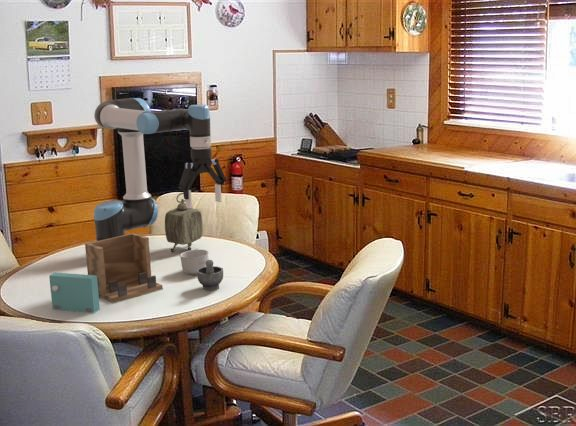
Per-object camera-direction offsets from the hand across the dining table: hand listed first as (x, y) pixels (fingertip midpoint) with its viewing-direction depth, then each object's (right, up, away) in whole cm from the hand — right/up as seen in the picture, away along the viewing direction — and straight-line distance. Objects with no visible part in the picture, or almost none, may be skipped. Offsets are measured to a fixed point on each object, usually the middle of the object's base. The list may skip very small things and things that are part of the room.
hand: (203, 204), depth 280 cm
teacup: (-4, -26, +13) cm, 29 cm away
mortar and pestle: (+3, -31, -8) cm, 32 cm away
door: (-40, -36, -25) cm, 59 cm away
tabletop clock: (-12, -19, +43) cm, 48 cm away
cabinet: (-28, -31, -7) cm, 42 cm away
